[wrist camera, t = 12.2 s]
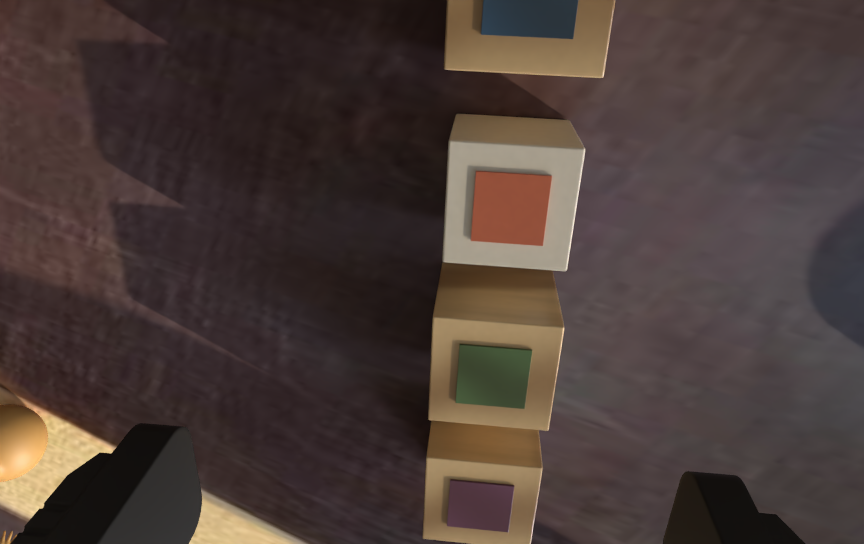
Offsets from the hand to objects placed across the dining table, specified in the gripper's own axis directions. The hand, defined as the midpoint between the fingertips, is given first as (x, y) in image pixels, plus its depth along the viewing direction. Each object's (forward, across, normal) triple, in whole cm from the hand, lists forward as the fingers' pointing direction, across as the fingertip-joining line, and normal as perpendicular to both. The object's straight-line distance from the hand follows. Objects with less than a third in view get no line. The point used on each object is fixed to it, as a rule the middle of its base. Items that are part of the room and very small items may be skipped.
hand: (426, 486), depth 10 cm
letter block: (+18, -2, 0) cm, 18 cm away
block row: (+18, -2, +3) cm, 18 cm away
